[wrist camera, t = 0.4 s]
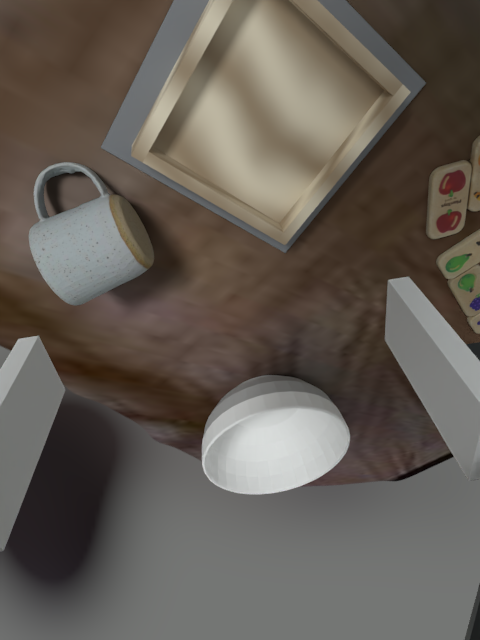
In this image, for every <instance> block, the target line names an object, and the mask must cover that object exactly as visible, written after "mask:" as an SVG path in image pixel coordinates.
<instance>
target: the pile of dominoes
mask: <svg viewBox="0 0 480 640" xmlns="http://www.w3.org/2000/svg"><path fill="white" fill-rule="evenodd" d="M466 209H468V210H470V211H473V212H474V211H479V210H480V136H478V137H477V138H476V139H475V141H474V142H473V145H472V151H471V159H470V160H469V162H468V161H466V160H461V161H458V162H454V163H451V164H447V165H444V166H440V167H438V168H436V169H435V170H434V171H433V172H432V173H431V175H430V178H429V191H428V208H427V223H426V234H427V236H428V237H429V238H431V239H438V238H442V237H445V236H449V235H453V234H456V233H458V232H459V231H461V230H462V228H463V227H464V224H465V217H466ZM479 262H480V229H479V230H477V231H476V232H474V233H473V234H471V235H470V236H468V237H467V238H465V239H464V240H462V241H461V242H459V243H458V244H456V245H455V246H453V247H451V248H450V249H448V250H447V251H445V252H444V253H442V254H441V255H440V256H439V257H438V258H437V260H436V264H437V266H438V267H439V269H440V271H441V272H442V274H443V275H444V277H445V278H447V279H449V280H448V286H449V288H450V290H451V291H452V293H453V295H454V297H455V298H456V300H457V302H458V304H459V305H460V307H461V309H462V311H463V312H464V314H465V315H466V316H469V317H468V318H467V322H468V323H469V325H470V326H471V328H472V329H473V330H474V332H475V333H477V334H479V333H480V265H479V264H478V263H479Z"/></svg>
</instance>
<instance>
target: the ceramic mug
mask: <svg viewBox="0 0 480 640" xmlns="http://www.w3.org/2000/svg"><path fill="white" fill-rule="evenodd" d="M76 171H78V172H79V171H81V172H83V173H84V174H86V175H87V176H88V177H90V178H91V180H92V181H93V182H94V184H95V185H96V187H97V188H98V190H99V192H100V194H101V196H100V197H99V198H96V199H94V200H92V201H89V202H87V203H84V204H81V205H80V206H78V207H76V208H73V209H70V210H67V211H64V212H62V213H60V214H57V215H55V216H52V217H49V216H48V213H47V211H46V207H45V203H44V195H43V194H44V186H45V183H46V182H47V181H48V180H49V179H50V178H51V177H54V176H57V175H60V174H63V173H71V174H72V173H74V172H76ZM34 203H35V207H36V211H37V214H38V217H39V219H40V221H39V222H38V223H36V224H34V225H33V226H32V227H31V229H30V232H29V244H30V249H31V252H32V255H33V258H34V261H35V263H36V265H37V267H38V269H39V271H40V273H41V275H42V276H43V278H44V280H45V281H46V282H47V284H48V285H49V286H50V288H51V289H52V290H53V291H54V292H55V293H56V294H57V295H58V296H59V297H60V298H61V299H62V300H64V301H65V302H67V303H69V304H71V305H81V304H83V303H85V302H87V301H89V300H91V299H93V298H95V297H97V296H99V295H101V294H103V293H105V292H107V291H109V290H112V289H113V288H115V287H117V286H119V285H121V284H123V283H125V282H128V281H130V280H132V279H134V278H136V277H138V276H139V275H141V274H142V273H144V272H145V271H146V270H148V269H149V268H150V267H151V266H152V264H153V262H154V251H153V247H152V244H151V241H150V239H149V236H148V234H147V232H146V229H145V227H144V225H143V223H142V222H141V220H140V218H139V216H138V215H137V213H136V211H135V210H134V209H133V207H132V206H131V204H130V203H129V202H128V201H127V200H126V199H125V198H123V197H121V196H119V195H110V194H109V193H108V191H107V189H106V186H105V184H104V183H103V182H102V180H101V179H100V178H99V177H98V175H97V174H96V173H95V172H94V171H92V170H91V169H90V168H88V167H86V166H84V165H81V164H78V163H70V162H63V163H58V164H54V165H52V166H49V167H47V168H46V169H44V170H43V171H42V172H41V173H40V174H39V176H38V178H37V180H36V183H35V187H34Z"/></svg>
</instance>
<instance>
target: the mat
mask: <svg viewBox="0 0 480 640" xmlns="http://www.w3.org/2000/svg"><path fill="white" fill-rule="evenodd" d="M208 1H209V0H174V1H173V3H172V5H171V7H170V9H169V11H168V13H167V15H166V17H165V19H164V21H163V23H162V25H161V27H160V29H159V31H158V33H157V35H156V37H155V39H154V41H153V43H152V45H151V47H150V49H149V51H148V53H147V55H146V57H145V59H144V61H143V63H142V65H141V67H140V69H139V71H138V73H137V75H136V77H135V79H134V81H133V84H132V86H131V88H130V90H129V92H128V94H127V96H126V98H125V100H124V102H123V104H122V106H121V108H120V110H119V112H118V114H117V116H116V118H115V120H114V122H113V124H112V126H111V128H110V130H109V132H108V134H107V136H106V138H105V140H104V142H103V144H102V146H101V148H102V149H104V150H106V151H108V152H109V153H111V154H113V155H115V156H116V157H118V158H120V159H122V160H123V161H125V162H127V163H129V164H130V165H132V166H134V167H136V168H137V169H139V170H141V171H143V172H144V173H146V174H148V175H150V176H151V177H153V178H155V179H157V180H158V181H160V182H162V183H164V184H165V185H167V186H169V187H171V188H172V189H174V190H176V191H178V192H179V193H181V194H183V195H185V196H186V197H188V198H190V199H192V200H193V201H195V202H197V203H199V204H200V205H202V206H204V207H206V208H207V209H209V210H211V211H213V212H214V213H216V214H218V215H220V216H221V217H223V218H225V219H227V220H228V221H230V222H232V223H234V224H235V225H237V226H239V227H241V228H242V229H244V230H246V231H248V232H249V233H251V234H253V235H255V236H256V237H258V238H260V239H262V240H263V241H265V242H267V243H269V244H270V245H272V246H274V247H276V248H277V249H279V250H281V251H283V252H284V253H286V251H287V250H288V249H289V248H290V247H291V245H292V244H293V243H294V242H295V241H296V239H297V238H298V237H299V236H300V234H301V233H302V232H303V231H304V230H305V228H306V227H307V226H308V225H309V224H310V222H311V221H312V220H313V219H314V218H315V216H316V215H317V214H318V213H319V212H320V210H321V209H322V208H323V207H324V206H325V204H326V203H327V202H328V201H329V200H330V198H331V197H332V196H333V195H334V193H335V192H336V191H337V190H338V189H339V187H340V186H341V185H342V184H343V183H344V181H345V180H346V179H347V178H348V177H349V175H350V174H351V173H352V172H353V171H354V169H355V168H356V167H357V166H358V165H359V163H360V162H361V161H362V160H363V159H364V157H365V156H366V155H367V154H368V152H369V151H370V150H371V149H372V148H373V146H374V145H375V144H376V143H377V142H378V140H379V139H380V138H381V137H382V136H383V134H384V133H385V132H386V131H387V130H388V128H389V127H390V126H391V125H392V124H393V122H394V121H395V120H396V119H397V118H398V116H399V115H400V114H401V113H402V111H403V110H404V109H405V108H406V107H407V105H408V104H409V103H410V102H411V101H412V99H413V98H414V97H415V96H416V95H417V93H418V92H419V91H420V90H421V89H422V87H423V86H424V85H425V84H426V82H425V81H424V80H423V79H422V78H421V77H420V76H419V75H418V74H417V73H416V72H415V71H414V70H413V69H412V68H411V67H410V66H409V65H408V64H407V63H406V62H405V61H404V60H403V59H402V58H401V57H400V56H399V55H398V54H397V52H396V51H395V50H394V49H393V48H392V47H391V46H390V45H389V44H388V43H387V42H386V41H385V40H384V39H383V38H382V37H381V36H380V35H379V34H378V33H377V32H376V31H375V30H374V29H373V28H372V27H371V26H370V25H369V24H368V23H367V22H366V21H365V20H364V19H363V18H362V17H361V16H360V15H359V14H358V12H357V11H356V10H355V9H354V8H353V7H352V6H351V5H350V4H349V3H348V2H347V1H346V0H318V1H319V2H320V3H321V4H322V5H323V6H324V7H325V8H326V9H327V10H328V11H329V12H330V13H331V14H332V15H333V16H334V17H335V18H336V19H337V20H338V21H339V22H340V23H341V24H342V25H343V26H344V27H345V28H346V29H347V30H348V31H349V32H350V33H351V34H352V35H353V36H354V37H355V38H356V39H357V40H358V41H359V42H360V43H361V44H362V45H363V46H364V47H365V48H367V49H368V50H369V51H370V52H371V53H372V54H373V55H374V56H375V57H376V58H377V59H378V60H379V61H380V62H381V63H382V64H383V65H384V66H385V67H386V68H387V69H388V70H389V71H390V72H391V73H392V74H393V75H394V76H395V77H396V78H397V79H398V80H399V81H400V82H401V83H402V84H403V85H404V86H405V87H406V88H407V89H408V90H409V91H410V92H411V93H410V94H409V95H408V96H407V97H406V99H405V100H404V101H403V102H402V103H401V105H400V106H399V107H398V108H397V110H396V111H395V112H394V113H393V114H392V116H391V117H390V118H389V119H388V121H387V122H386V123H385V124H384V125H383V127H382V128H381V129H380V130H379V132H378V133H377V134H376V135H375V136H374V138H373V139H372V140H371V141H370V142H369V144H368V145H367V146H366V147H365V149H364V150H363V151H362V152H361V153H360V155H359V156H358V157H357V158H356V160H355V161H354V162H353V163H352V164H351V166H350V167H349V168H348V169H347V171H346V172H345V173H344V174H343V175H342V177H341V178H340V179H339V180H338V181H337V183H336V184H335V185H334V186H333V188H332V189H331V190H330V191H329V192H328V194H327V195H326V196H325V197H324V199H323V200H322V201H321V202H320V203H319V205H318V206H317V207H316V208H315V210H314V211H313V212H312V213H311V214H310V216H309V217H308V218H307V219H306V220H305V222H304V223H303V224H302V225H301V227H300V228H299V229H298V230H297V231H296V233H295V234H294V235H293V236H292V238H291V239H290V240H289V241H288V242H287V244H286V245H283V244H282V243H280V242H278V241H277V240H275V239H273V238H271V237H270V236H268V235H266V234H265V233H263V232H261V231H259V230H258V229H256V228H254V227H253V226H251V225H249V224H247V223H246V222H244V221H242V220H241V219H239V218H237V217H235V216H234V215H232V214H230V213H228V212H227V211H225V210H223V209H222V208H220V207H218V206H216V205H215V204H213V203H211V202H210V201H208V200H206V199H204V198H203V197H201V196H199V195H198V194H196V193H194V192H192V191H191V190H189V189H187V188H186V187H184V186H182V185H180V184H179V183H177V182H175V181H173V180H172V179H170V178H168V177H167V176H165V175H163V174H161V173H160V172H158V171H156V170H155V169H153V168H151V167H149V166H148V165H146V164H144V163H143V162H141V161H139V160H137V159H136V158H134V157H132V156H131V150H132V144H133V142H134V140H135V139H136V137H137V135H138V133H139V131H140V129H141V127H142V125H143V124H144V122H145V120H146V118H147V116H148V114H149V112H150V110H151V109H152V107H153V105H154V103H155V101H156V99H157V97H158V95H159V93H160V92H161V90H162V88H163V86H164V84H165V82H166V80H167V78H168V77H169V75H170V73H171V71H172V69H173V67H174V65H175V63H176V62H177V60H178V58H179V56H180V54H181V52H182V50H183V48H184V47H185V45H186V43H187V41H188V39H189V37H190V35H191V33H192V32H193V30H194V28H195V26H196V24H197V22H198V20H199V18H200V16H201V15H202V13H203V11H204V9H205V7H206V5H207V3H208Z"/></svg>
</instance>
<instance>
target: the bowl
mask: <svg viewBox="0 0 480 640" xmlns="http://www.w3.org/2000/svg"><path fill="white" fill-rule="evenodd" d="M349 442H350V433H349V428H348V426H347V424H346V422H345V420H344V419H343V417H342V415H341V413H340V411H339V410H338V408H337V407H336V406H335V405H334V403H333V402H332V401H331V400H330V398H329V397H328V396H327V395H326V394H325V393H324V392H323V391H322V390H320V389H319V388H317V387H315V386H313V385H311V384H309V383H307V382H305V381H303V380H301V379H298V378H294V377H289V376H279V375H264V376H259V377H255V378H252V379H249V380H247V381H245V382H243V383H242V384H240V385H239V386H237V387H236V388H234V389H233V390H231V391H230V392H228V393H227V394H226V395H225V396H224V397H223V398H222V399H221V400H220V402H219V403H218V404H217V406H216V407H215V409H214V410H213V412H212V413H211V414H210V416H209V418H208V420H207V423H206V425H205V431H204V436H203V441H202V466H203V470H204V473H205V474H206V475H207V477H208V478H209V480H210V481H211V482H213V483H214V484H215V485H217V486H218V487H221V488H223V489H225V490H228V491H232V492H235V493H242V494H269V493H276V492H281V491H286V490H290V489H293V488H296V487H299V486H302V485H304V484H307V483H309V482H311V481H313V480H315V479H317V478H319V477H321V476H322V475H324V474H325V473H327V472H328V471H329V470H331V469H332V468H333V467H334V466H335V465H336V464H337V463H339V462H340V460H341V459H342V458H343V456H344V455H345V453H346V451H347V449H348V447H349Z"/></svg>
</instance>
